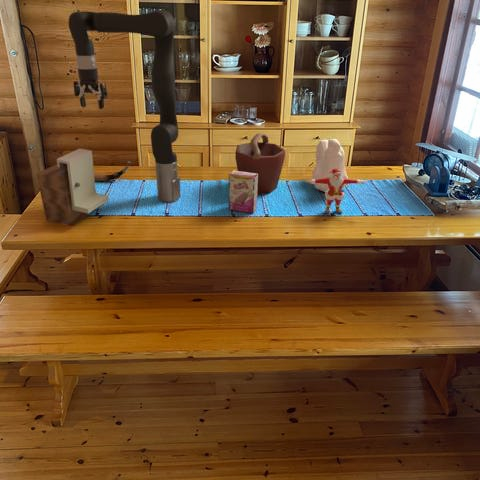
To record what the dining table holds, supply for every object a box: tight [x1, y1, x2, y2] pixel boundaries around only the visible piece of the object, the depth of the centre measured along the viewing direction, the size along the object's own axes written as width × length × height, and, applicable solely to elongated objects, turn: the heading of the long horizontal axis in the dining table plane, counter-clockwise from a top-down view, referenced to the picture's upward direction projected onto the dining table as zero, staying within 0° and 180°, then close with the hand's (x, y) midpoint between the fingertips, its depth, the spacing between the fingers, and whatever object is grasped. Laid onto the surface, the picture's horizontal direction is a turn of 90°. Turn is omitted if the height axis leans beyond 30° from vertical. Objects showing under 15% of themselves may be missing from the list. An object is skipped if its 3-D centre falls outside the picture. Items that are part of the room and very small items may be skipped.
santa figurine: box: [304, 169, 367, 214], centre depth 198 cm, size 25×6×19 cm, turn 90°
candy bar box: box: [228, 169, 258, 214], centre depth 199 cm, size 11×5×16 cm, turn 71°
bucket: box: [234, 133, 286, 195], centre depth 219 cm, size 24×22×25 cm
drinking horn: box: [94, 160, 132, 182], centre depth 227 cm, size 6×30×10 cm, turn 92°
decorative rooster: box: [311, 138, 349, 192], centre depth 221 cm, size 25×16×25 cm, turn 2°
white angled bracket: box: [56, 148, 109, 215], centre depth 187 cm, size 12×14×20 cm
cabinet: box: [36, 163, 96, 227], centre depth 191 cm, size 12×18×25 cm, turn 161°
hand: (92, 107), depth 199 cm, fingers open, 8 cm apart
